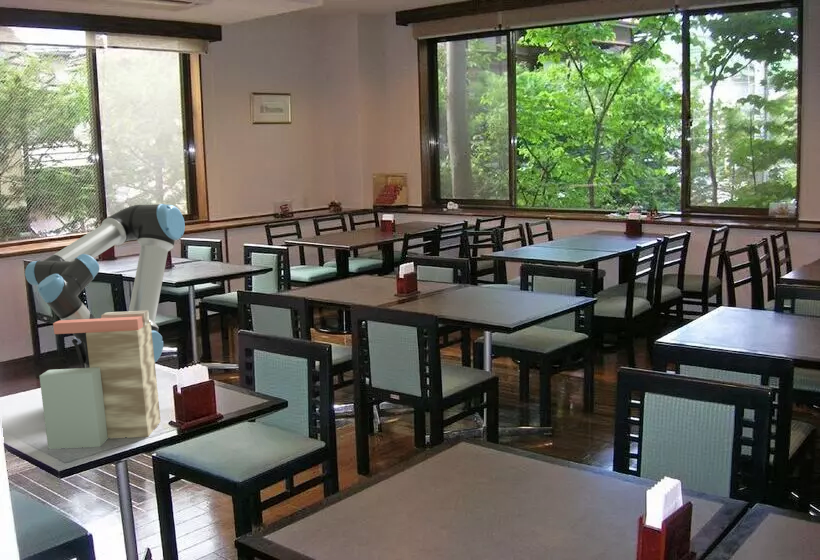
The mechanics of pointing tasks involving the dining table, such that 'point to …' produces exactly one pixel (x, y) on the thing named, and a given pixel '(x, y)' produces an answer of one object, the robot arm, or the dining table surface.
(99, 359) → the tall wood-grain block
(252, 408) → the dining table surface
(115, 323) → the stub
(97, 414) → the block
